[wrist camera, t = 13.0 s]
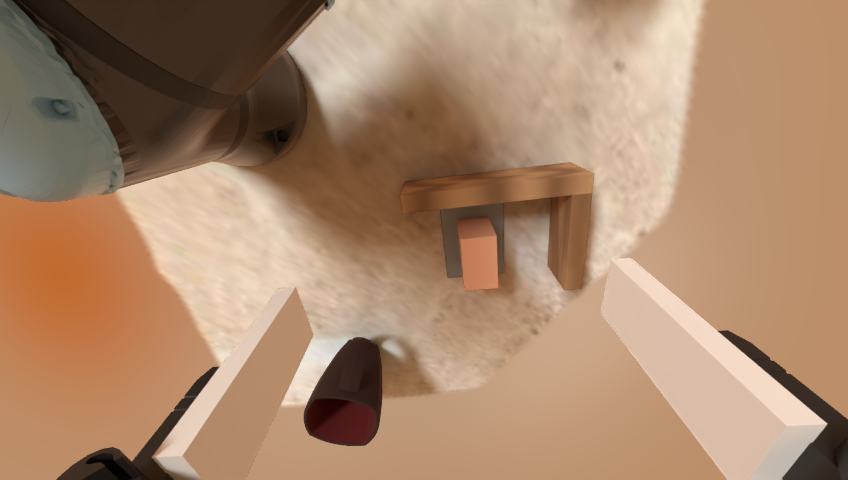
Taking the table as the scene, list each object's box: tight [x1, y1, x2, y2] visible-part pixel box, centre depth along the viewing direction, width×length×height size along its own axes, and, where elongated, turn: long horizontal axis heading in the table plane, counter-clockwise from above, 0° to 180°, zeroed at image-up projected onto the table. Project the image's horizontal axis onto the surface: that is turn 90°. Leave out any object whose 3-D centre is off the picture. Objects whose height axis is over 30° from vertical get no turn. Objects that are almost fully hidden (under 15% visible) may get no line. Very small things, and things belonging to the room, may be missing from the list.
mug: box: [304, 337, 382, 446], centre depth 44 cm, size 10×14×12 cm
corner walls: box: [400, 162, 594, 290], centre depth 37 cm, size 20×14×6 cm
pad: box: [440, 203, 504, 278], centre depth 40 cm, size 8×11×1 cm
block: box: [457, 217, 498, 291], centre depth 38 cm, size 7×4×6 cm, turn 7°
